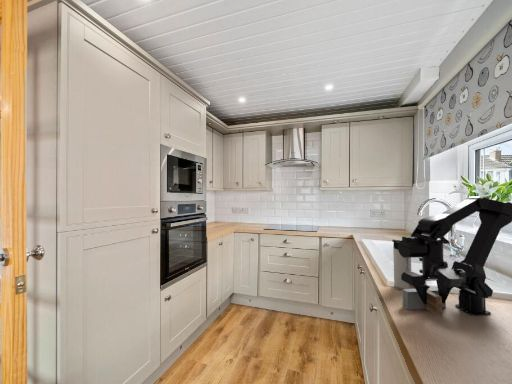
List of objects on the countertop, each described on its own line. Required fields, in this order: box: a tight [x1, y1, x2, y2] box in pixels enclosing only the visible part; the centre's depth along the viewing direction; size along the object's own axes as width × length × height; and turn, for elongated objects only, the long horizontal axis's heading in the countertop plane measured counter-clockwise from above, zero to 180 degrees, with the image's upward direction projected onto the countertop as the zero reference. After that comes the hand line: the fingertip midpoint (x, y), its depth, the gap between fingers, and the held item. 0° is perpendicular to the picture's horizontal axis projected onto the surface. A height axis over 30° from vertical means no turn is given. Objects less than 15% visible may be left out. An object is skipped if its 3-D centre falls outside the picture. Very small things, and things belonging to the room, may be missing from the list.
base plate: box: [402, 287, 447, 311], centre depth 81 cm, size 14×2×6 cm, turn 95°
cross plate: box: [409, 284, 443, 317], centre depth 81 cm, size 2×12×6 cm, turn 5°
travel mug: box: [391, 239, 412, 292], centre depth 97 cm, size 6×7×20 cm
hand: (433, 303), depth 77 cm, fingers open, 6 cm apart
